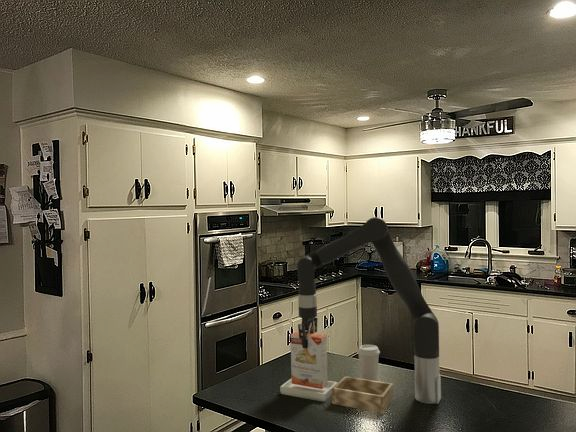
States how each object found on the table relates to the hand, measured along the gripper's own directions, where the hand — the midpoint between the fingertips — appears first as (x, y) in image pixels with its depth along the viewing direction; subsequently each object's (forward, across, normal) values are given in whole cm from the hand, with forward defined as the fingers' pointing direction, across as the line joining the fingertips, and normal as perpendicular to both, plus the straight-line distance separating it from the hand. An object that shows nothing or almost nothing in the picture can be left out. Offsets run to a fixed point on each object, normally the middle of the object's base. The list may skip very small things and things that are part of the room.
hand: (308, 345), depth 193 cm
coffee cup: (+19, +20, -19) cm, 33 cm away
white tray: (+19, 0, 0) cm, 19 cm away
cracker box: (+16, 0, 0) cm, 16 cm away
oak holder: (+19, 0, -23) cm, 30 cm away
